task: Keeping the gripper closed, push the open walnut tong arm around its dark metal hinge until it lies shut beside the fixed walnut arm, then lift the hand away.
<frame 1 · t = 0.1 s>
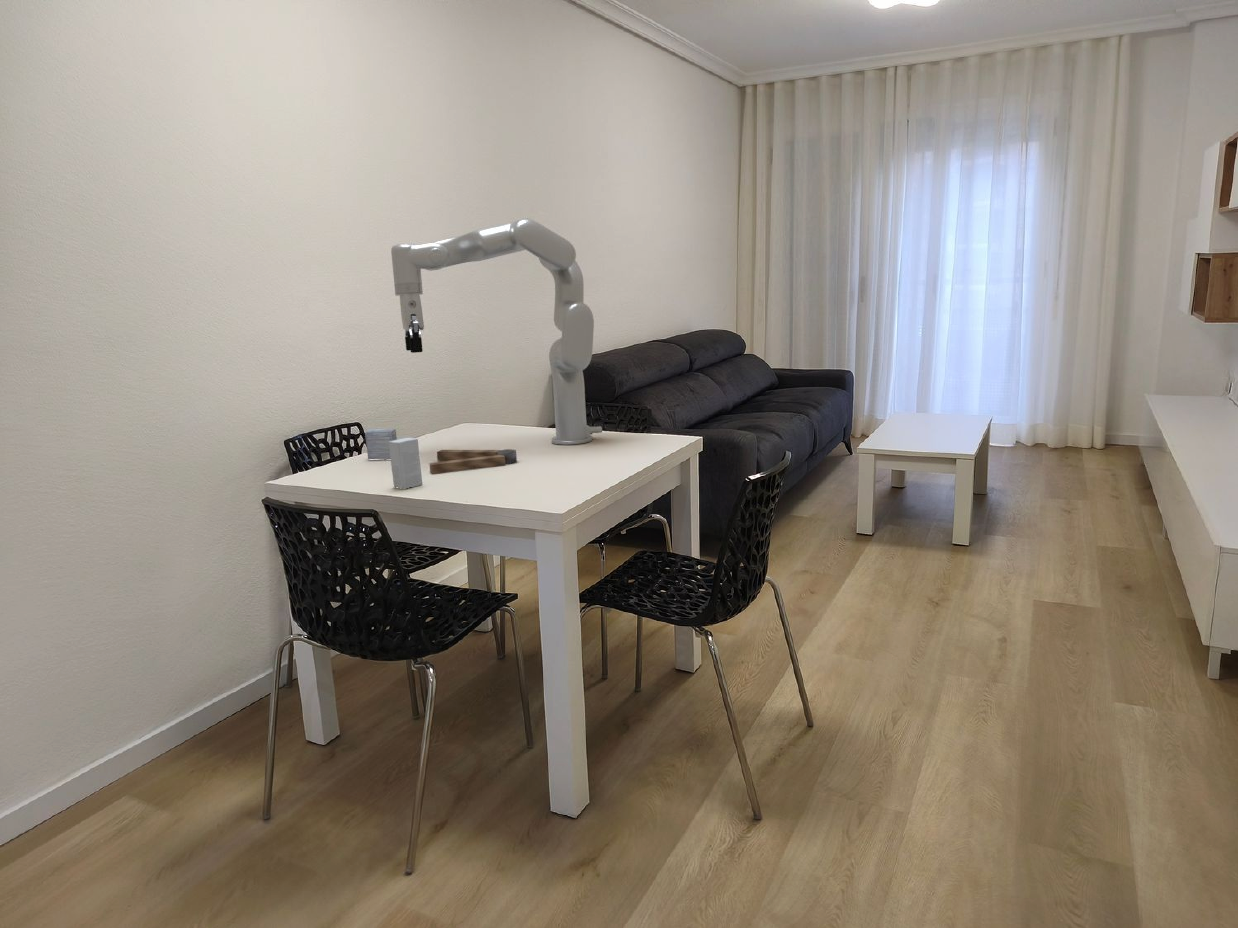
hand: (414, 351, 250), 31 cm above the table, tool pointing down, fingers open, 9 cm apart
medicine box: (383, 459, 258), on the table
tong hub: (507, 462, 245), on the table
skincare box: (408, 487, 222), on the table
tong arm: (468, 455, 250), point 2 cm above the table, hinge at -35.0°
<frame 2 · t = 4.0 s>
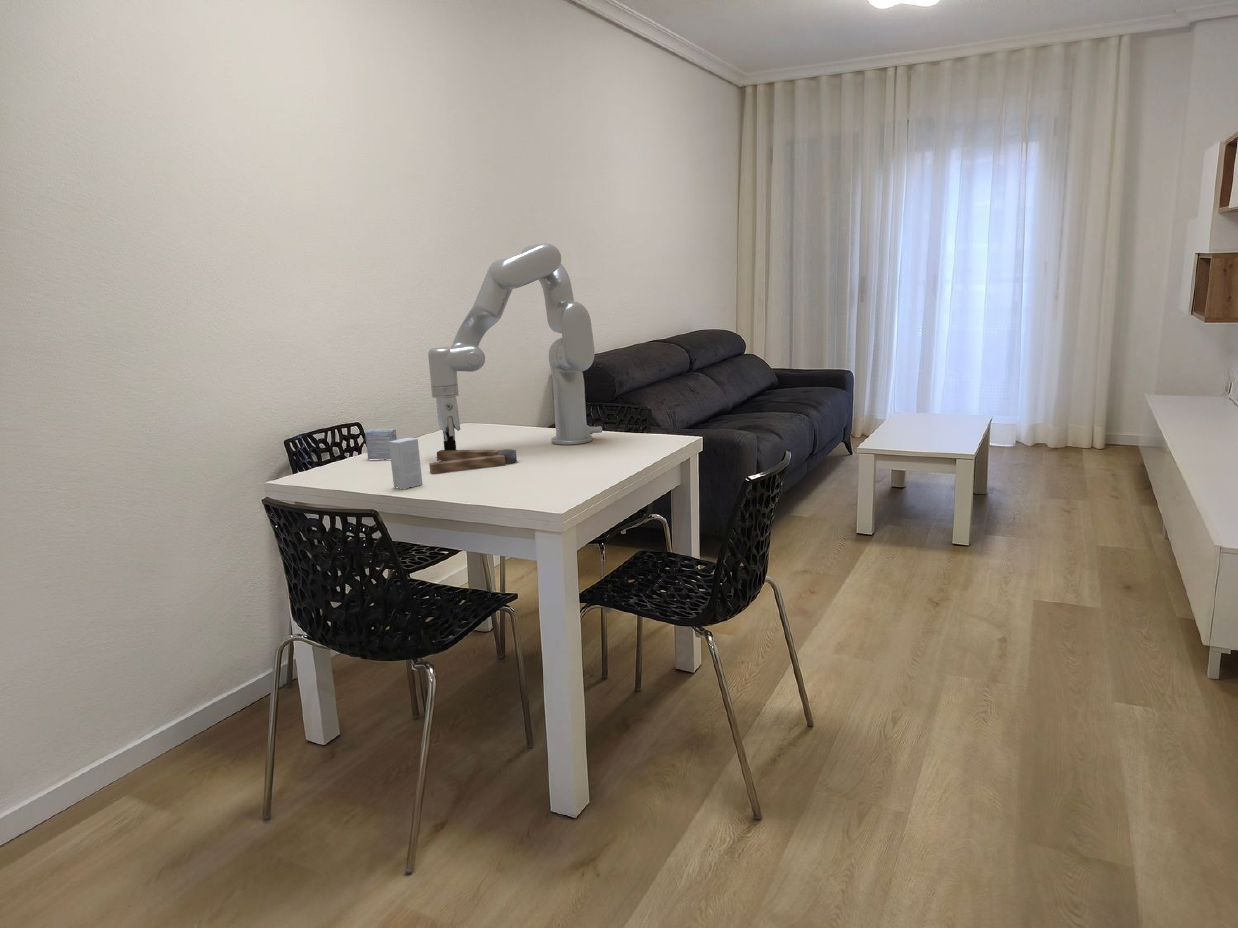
hand: (450, 454, 255), 1 cm above the table, tool pointing down, fingers closed
tong arm: (468, 455, 249), point 2 cm above the table, hinge at -34.5°, touching gripper
everything else where it was.
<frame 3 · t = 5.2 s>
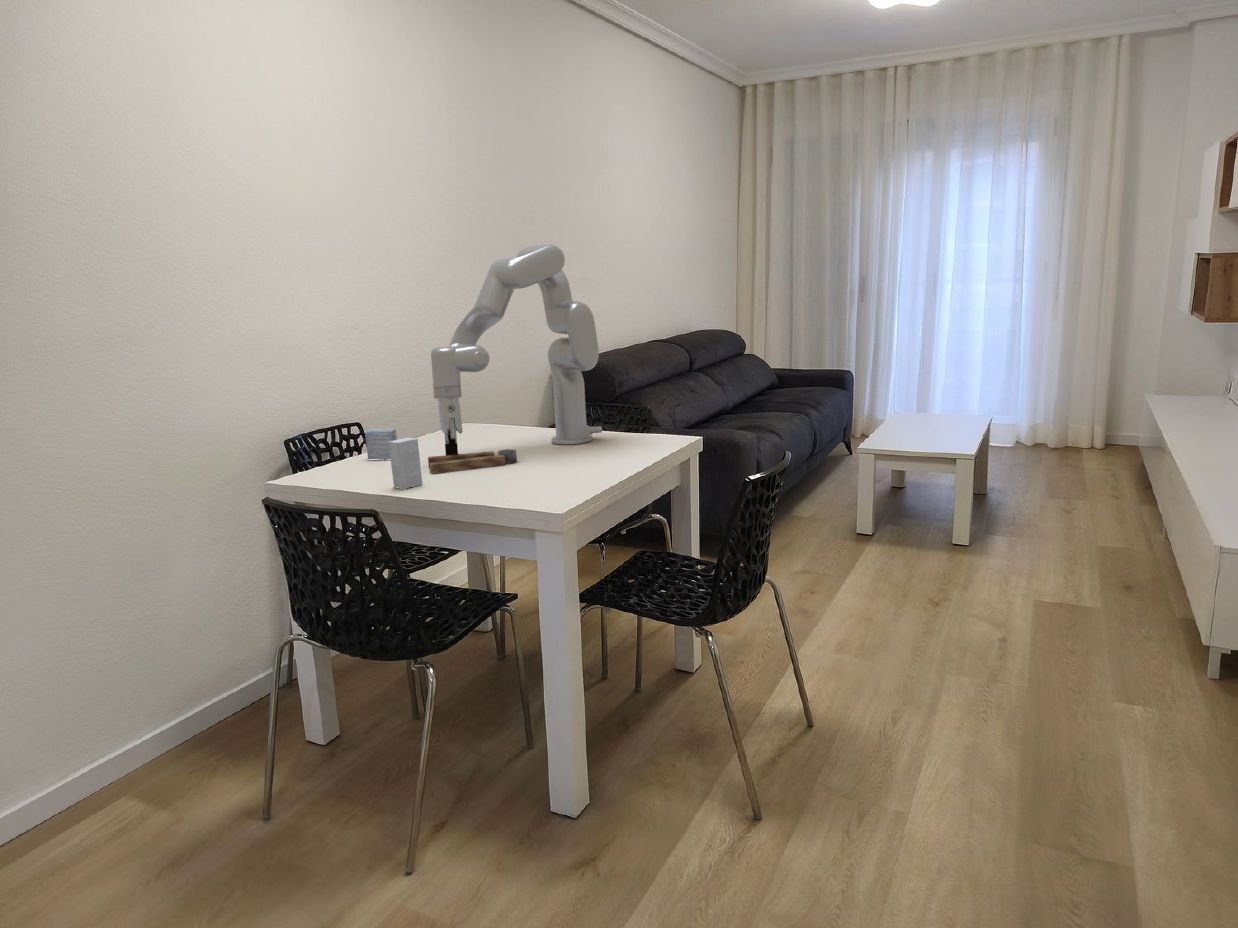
hand: (452, 457, 247), 2 cm above the table, tool pointing down, fingers closed
tong arm: (461, 459, 244), point 2 cm above the table, hinge at -8.8°, touching gripper
everything else where it was.
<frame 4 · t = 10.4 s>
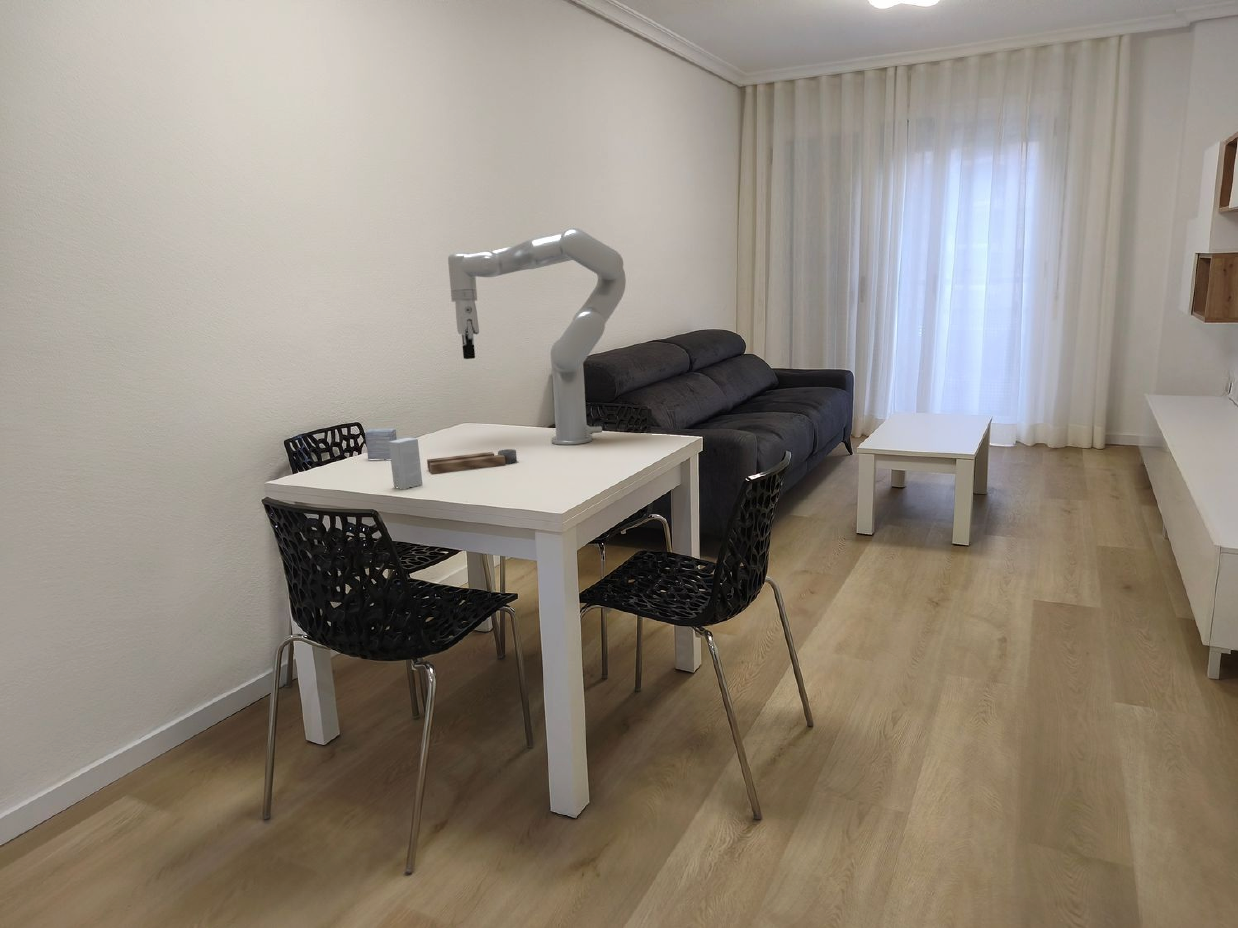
hand: (469, 358, 264), 27 cm above the table, tool pointing down, fingers closed
tong arm: (461, 461, 242), point 2 cm above the table, hinge at 0.6°
everything else where it was.
at the end: tong arm at +1° (first picture: -35°); medicine box moved 0.3 cm from its start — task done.
